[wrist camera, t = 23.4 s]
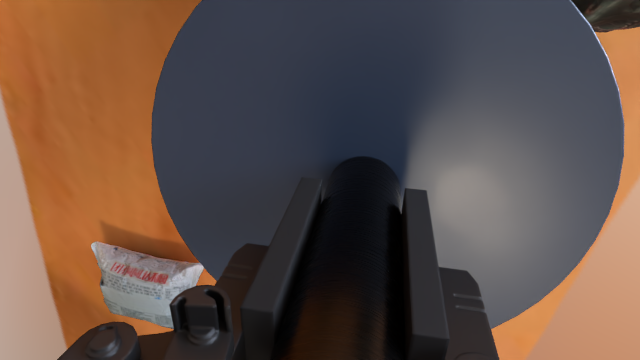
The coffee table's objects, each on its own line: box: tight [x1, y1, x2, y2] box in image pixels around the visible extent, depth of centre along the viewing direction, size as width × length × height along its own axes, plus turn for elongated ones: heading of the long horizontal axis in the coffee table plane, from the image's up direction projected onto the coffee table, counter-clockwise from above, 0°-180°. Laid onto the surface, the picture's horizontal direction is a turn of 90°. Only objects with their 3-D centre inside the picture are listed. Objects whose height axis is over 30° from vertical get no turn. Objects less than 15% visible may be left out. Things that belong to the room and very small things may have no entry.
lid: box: [152, 0, 624, 360], centre depth 13 cm, size 19×19×11 cm
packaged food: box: [91, 241, 204, 329], centre depth 42 cm, size 9×12×5 cm
